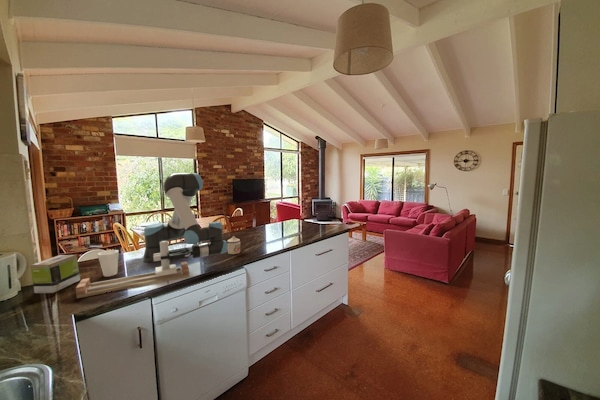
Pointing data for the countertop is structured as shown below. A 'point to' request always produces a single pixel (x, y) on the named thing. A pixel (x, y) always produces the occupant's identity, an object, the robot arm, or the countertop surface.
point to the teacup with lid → (233, 245)
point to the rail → (127, 282)
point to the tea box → (55, 273)
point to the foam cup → (109, 262)
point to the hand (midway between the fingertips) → (153, 257)
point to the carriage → (165, 262)
